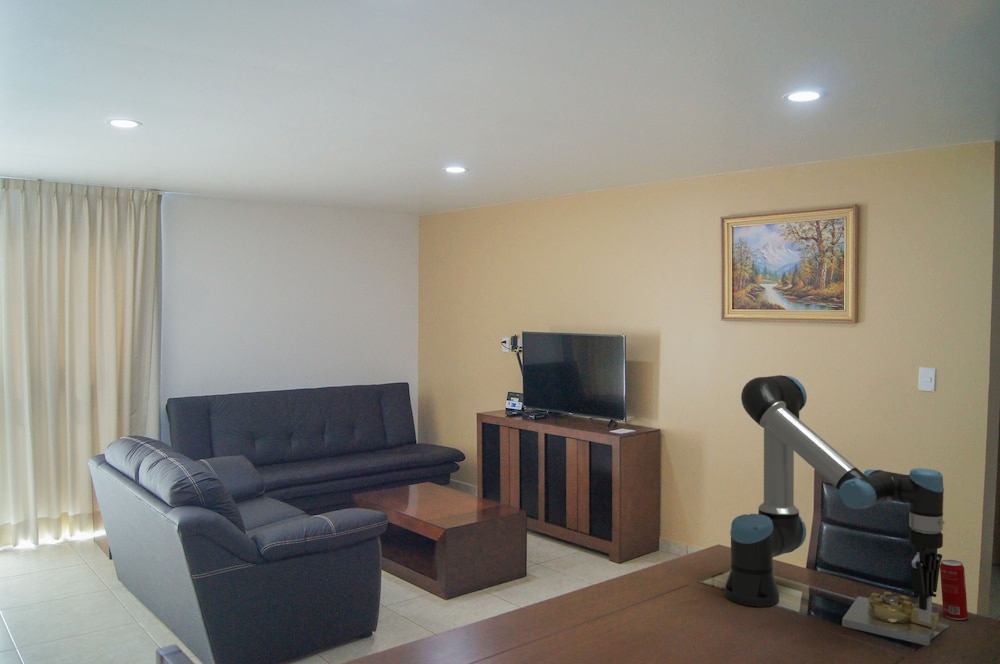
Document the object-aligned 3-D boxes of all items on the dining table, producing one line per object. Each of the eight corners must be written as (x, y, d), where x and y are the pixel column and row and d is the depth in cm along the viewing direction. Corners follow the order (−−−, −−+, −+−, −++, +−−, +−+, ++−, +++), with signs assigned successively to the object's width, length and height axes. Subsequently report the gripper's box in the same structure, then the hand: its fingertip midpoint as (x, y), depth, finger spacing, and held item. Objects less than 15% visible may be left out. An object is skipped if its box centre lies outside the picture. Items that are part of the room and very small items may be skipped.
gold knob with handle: (861, 613, 197) (861, 597, 197) (877, 603, 204) (877, 587, 204) (928, 633, 185) (928, 615, 185) (943, 621, 192) (943, 604, 192)
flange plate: (842, 626, 195) (842, 605, 195) (858, 603, 211) (858, 584, 211) (930, 646, 182) (930, 624, 182) (940, 620, 198) (940, 600, 198)
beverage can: (971, 621, 197) (971, 566, 197) (944, 619, 198) (945, 564, 198) (962, 613, 203) (962, 559, 203) (936, 611, 204) (936, 558, 204)
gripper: (928, 537, 182) (927, 631, 182) (953, 529, 189) (952, 620, 189) (898, 530, 188) (897, 621, 188) (923, 523, 195) (922, 611, 195)
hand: (924, 621), depth 189 cm, fingers closed
